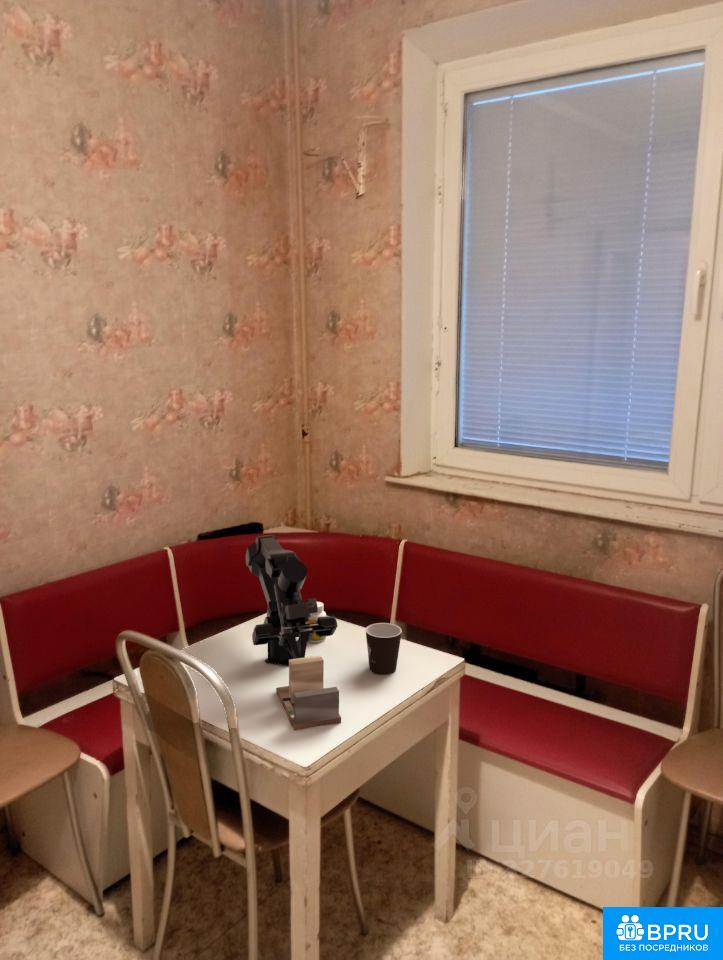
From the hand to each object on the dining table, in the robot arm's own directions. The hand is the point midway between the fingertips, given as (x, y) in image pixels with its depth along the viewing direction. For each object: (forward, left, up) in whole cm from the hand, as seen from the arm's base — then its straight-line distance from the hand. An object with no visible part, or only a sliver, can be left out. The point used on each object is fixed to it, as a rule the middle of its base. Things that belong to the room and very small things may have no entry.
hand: (301, 666), depth 158 cm
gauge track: (+3, -4, -7) cm, 8 cm away
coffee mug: (+14, +20, -7) cm, 25 cm away
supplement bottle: (-7, +30, -7) cm, 32 cm away
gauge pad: (+2, -4, -6) cm, 7 cm away
